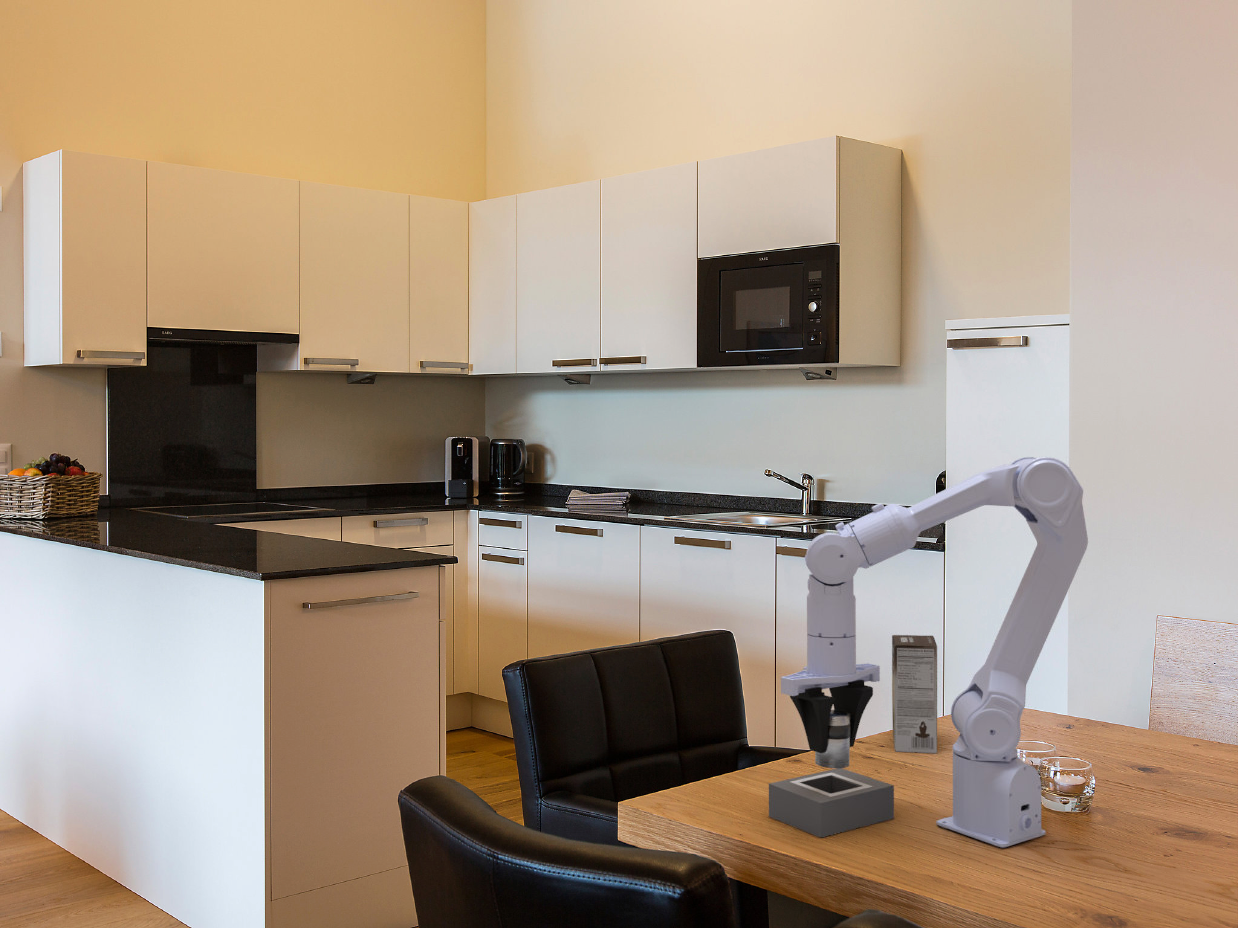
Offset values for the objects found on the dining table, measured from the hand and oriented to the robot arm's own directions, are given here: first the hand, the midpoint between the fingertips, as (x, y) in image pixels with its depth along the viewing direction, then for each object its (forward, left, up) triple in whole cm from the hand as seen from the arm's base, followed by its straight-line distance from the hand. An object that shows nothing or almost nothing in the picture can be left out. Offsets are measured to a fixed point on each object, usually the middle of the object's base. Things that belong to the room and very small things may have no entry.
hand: (831, 747), depth 129 cm
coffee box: (+18, -35, -9) cm, 41 cm away
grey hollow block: (+1, -1, -9) cm, 9 cm away
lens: (0, 0, -2) cm, 2 cm away
